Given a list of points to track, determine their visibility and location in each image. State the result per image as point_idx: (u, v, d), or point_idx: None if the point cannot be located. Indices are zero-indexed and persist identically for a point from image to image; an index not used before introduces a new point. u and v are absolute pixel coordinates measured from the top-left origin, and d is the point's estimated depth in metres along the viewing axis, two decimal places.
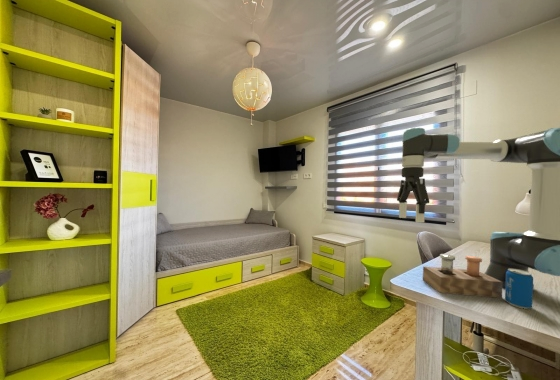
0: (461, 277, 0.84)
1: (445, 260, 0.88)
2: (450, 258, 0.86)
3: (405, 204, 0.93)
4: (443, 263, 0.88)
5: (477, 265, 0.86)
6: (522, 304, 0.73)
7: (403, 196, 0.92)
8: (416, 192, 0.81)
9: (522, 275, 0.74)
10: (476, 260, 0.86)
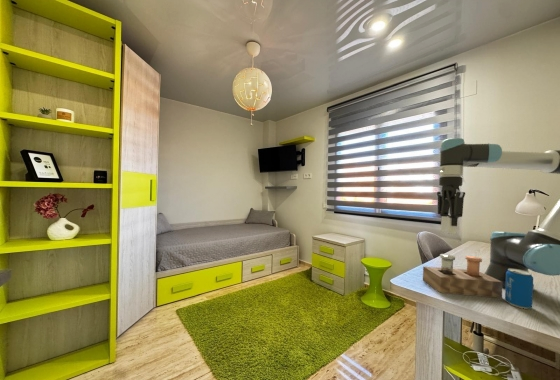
0: (461, 277, 0.84)
1: (445, 260, 0.88)
2: (450, 258, 0.86)
3: (448, 218, 0.91)
4: (443, 263, 0.88)
5: (477, 265, 0.86)
6: (522, 304, 0.73)
7: (444, 207, 0.91)
8: (452, 204, 0.86)
9: (522, 275, 0.74)
10: (476, 260, 0.86)
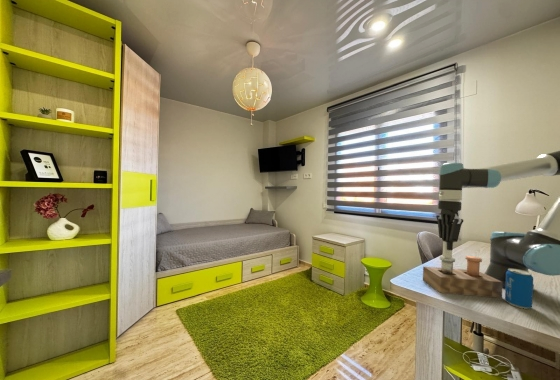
0: (461, 277, 0.84)
1: (445, 262, 0.88)
2: (450, 260, 0.86)
3: None
4: (443, 265, 0.88)
5: (477, 265, 0.86)
6: (522, 304, 0.73)
7: (445, 231, 0.90)
8: (449, 229, 0.87)
9: (522, 275, 0.74)
10: (476, 260, 0.86)
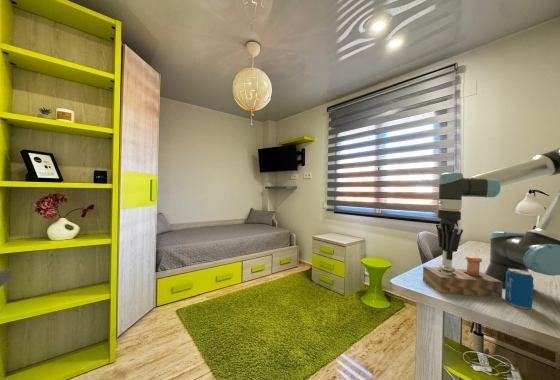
0: (461, 277, 0.84)
1: (445, 272, 0.88)
2: (450, 270, 0.86)
3: None
4: None
5: (477, 265, 0.86)
6: (522, 304, 0.73)
7: (445, 241, 0.90)
8: (449, 239, 0.87)
9: (522, 275, 0.74)
10: (476, 260, 0.86)
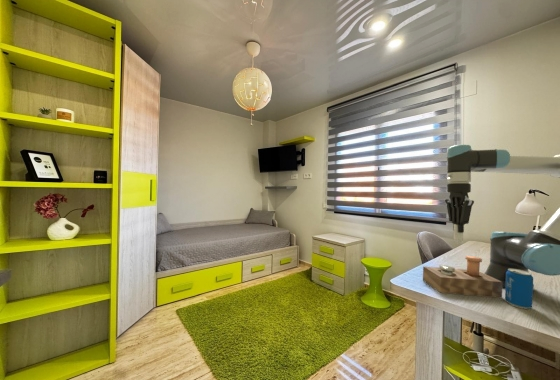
0: (461, 277, 0.84)
1: (445, 272, 0.88)
2: (450, 270, 0.86)
3: None
4: None
5: (477, 265, 0.86)
6: (522, 304, 0.73)
7: (455, 214, 0.89)
8: (459, 212, 0.87)
9: (522, 275, 0.74)
10: (476, 260, 0.86)
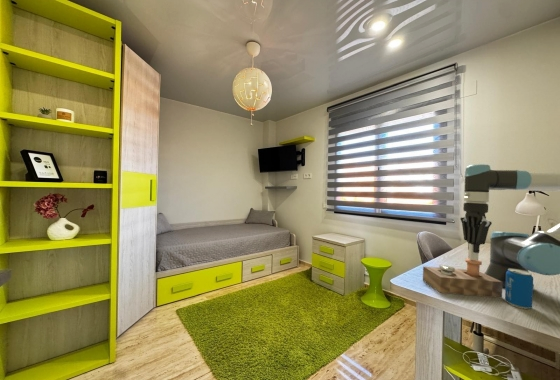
0: (461, 277, 0.84)
1: (445, 272, 0.88)
2: (450, 270, 0.86)
3: None
4: None
5: (477, 267, 0.86)
6: (522, 304, 0.73)
7: (471, 233, 0.89)
8: (476, 231, 0.86)
9: (522, 275, 0.74)
10: (476, 263, 0.86)
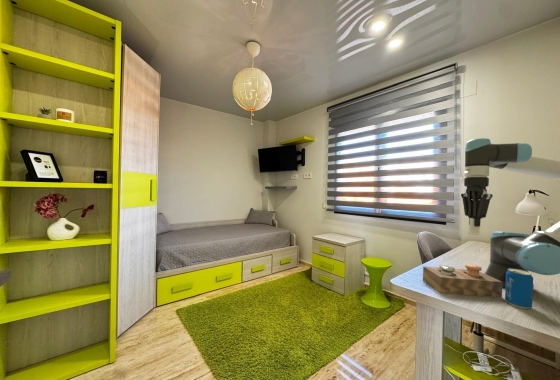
0: (461, 277, 0.84)
1: (445, 272, 0.88)
2: (450, 270, 0.86)
3: None
4: None
5: (477, 273, 0.86)
6: (522, 304, 0.73)
7: (471, 208, 0.89)
8: (477, 205, 0.86)
9: (522, 275, 0.74)
10: (476, 269, 0.86)
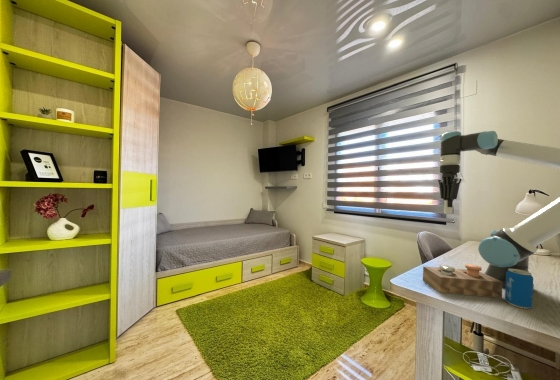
0: (461, 277, 0.84)
1: (445, 272, 0.88)
2: (450, 270, 0.86)
3: None
4: None
5: (477, 273, 0.86)
6: (522, 304, 0.73)
7: (446, 192, 1.04)
8: (449, 189, 1.01)
9: (522, 275, 0.74)
10: (476, 269, 0.86)
